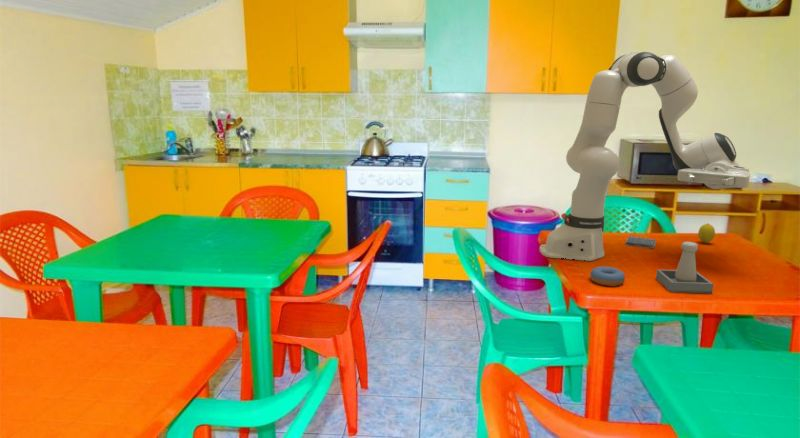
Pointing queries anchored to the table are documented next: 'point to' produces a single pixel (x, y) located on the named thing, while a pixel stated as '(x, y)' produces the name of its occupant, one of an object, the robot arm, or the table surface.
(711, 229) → the lemon
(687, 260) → the salt shaker
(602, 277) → the doughnut
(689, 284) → the tray
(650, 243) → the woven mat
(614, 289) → the table surface
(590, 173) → the robot arm
